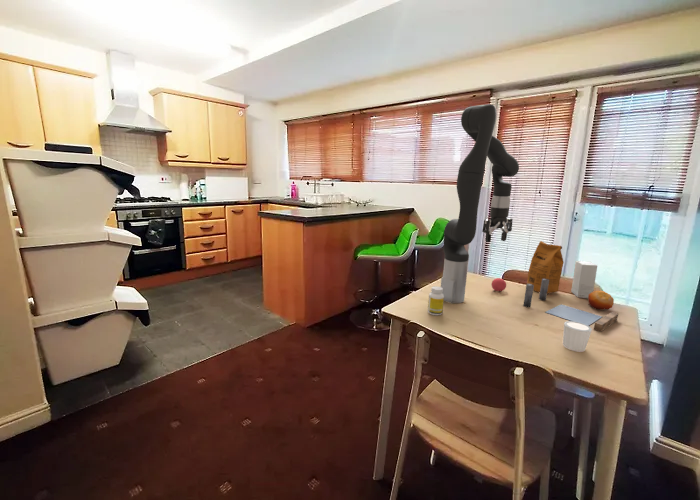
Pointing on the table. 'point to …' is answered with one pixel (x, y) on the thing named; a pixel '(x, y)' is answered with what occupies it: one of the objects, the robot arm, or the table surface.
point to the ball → (498, 284)
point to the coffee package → (546, 267)
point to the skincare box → (584, 278)
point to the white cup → (576, 336)
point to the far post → (543, 289)
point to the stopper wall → (605, 321)
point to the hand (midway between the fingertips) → (495, 241)
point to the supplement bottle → (436, 301)
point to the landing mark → (574, 314)
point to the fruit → (600, 300)
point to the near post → (528, 295)
